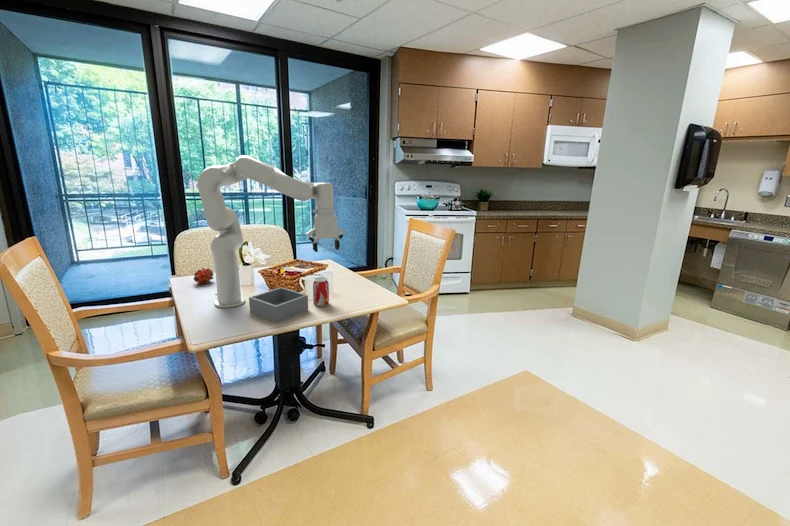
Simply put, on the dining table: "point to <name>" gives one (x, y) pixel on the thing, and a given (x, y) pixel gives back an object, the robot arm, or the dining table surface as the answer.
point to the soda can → (320, 291)
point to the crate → (278, 304)
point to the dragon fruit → (203, 276)
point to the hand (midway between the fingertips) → (326, 250)
